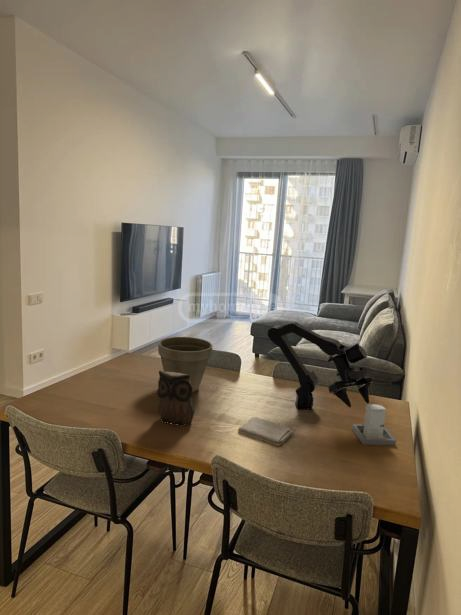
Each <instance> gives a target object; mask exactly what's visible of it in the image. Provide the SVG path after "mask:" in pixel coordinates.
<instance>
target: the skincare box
mask: <svg viewBox="0 0 461 615" xmlns="http://www.w3.org/2000/svg"><path fill="white" fill-rule="evenodd" d="M365 407H366V408H365V416H364V423H363V425H364V430H363V432H362V434H363V436H364V437H365V438H378V439H383V437H384V434H383V429H384V427H385V422H386V413H387V409H386V407H384V406H383V405H382V404H369V403H368V404H367V403H366V406H365Z"/></svg>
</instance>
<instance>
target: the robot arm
mask: <svg viewBox="0 0 461 615" xmlns="http://www.w3.org/2000/svg"><path fill="white" fill-rule="evenodd" d="M291 333H293V334H295V335H296V336H299V337H300V338H302V339H304V340H306V341H308V342H310V343H312V344H314V345H316V346H317V347H318V348H319V349H320V350H321V351H322V352H323V353H325V354H326V355H327V356H329V358H328V360H327V363H331V364H334V366H335V369H336V372H337V373H336V376H337V377H339V379H340V380H338V381H334V382H333V383H331V384H330V385H329V386H328V392H329V394H332V395H333V396H335V397H337V398H338V399H339V400H341V401H342V402H343V403H344V404H345V405H346V406H347V407H348V408H351V407H352V404H351V401H350V398H349V396H348V393H347V391H348V390H347V388H351V387H357V388H358V389H357V391H358V393H359V394H360V395H361V397H362V398H363V400H364V402H365V403H366V405H367V404H368V405H369V403H370V397H369V396H370V395H369V392H370V391H369V389H370V386H372V384H373V382H374V380H373V379H372V377H371V376H370V375H369V376H368V369H367V368H366V366H361V367H359V369H355V367H352V366H351V364H358V363H359V362H361V361H363V360H366V359H367V358H368V354H367V352H366V350H365V349H364V348H363V347H362V345H360V344H359V342H356V343H355V344H353V345H351V346H350V347H348V346H347V345H343V344H341V342H340V341H339V340H338V339H335V338H332V337H328V336H324V335H321V334H319V333H317V332H315V331H314V330H313V331H312V330H311V329H310V328H308V327H305V326H303V325H301V324H299V322H297V321H293V322H290V323H286V324H285V325H278V324H277V325H275V326H273V327H271V328H269V330H267V338H268V339H269V340H270V342H272V344H274V345H275V346H277V347H278V348H279V349H280V351H281V352H282V353H283V356H284V357H285V358H286V359H287V361H288V363H289V365H290V366H291V367H292V369H293V370H294V372H295V374H296V376H297V379H298V382H299V385H300V386H299V387H298V388H296V389H295V394H296V399H295V402H294V404H295V406H296V408H297V410H313V406H314V395H313V392H315V390H316V389H317V388H318V386H319V384H320V383H319V382H320V381H319V380H318V379H319V377H318V376H317V375H316V374H315V373H316V372H315V371H314V370H311V371H310V370H308V369H307V368H306V366H305V364H304V363H303V362H302V360H301V359H300V357H299V356H298V355H297V353H296V351H295V350H294V347H293V346H292V345H291V344H290V342H289V339H288V334H291ZM350 363H351V364H350Z"/></svg>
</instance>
